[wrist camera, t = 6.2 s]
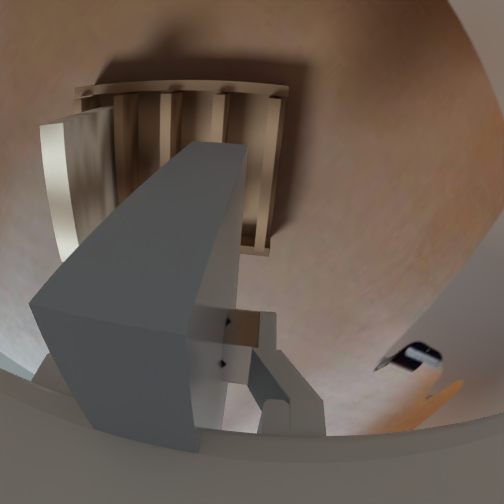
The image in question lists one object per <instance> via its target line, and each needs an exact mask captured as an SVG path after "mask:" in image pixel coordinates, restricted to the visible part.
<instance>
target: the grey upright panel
mask: <svg viewBox="0 0 504 504" xmlns="http://www.w3.org/2000/svg"><path fill="white" fill-rule="evenodd" d="M247 156H248V145H244V144H232V143H218V142H201V141H192V142H191V143H190V144H189V145H187V146H186V147H185V148H184V149H182V150H181V151H180V152H179V153H178V154H176V155H175V156H174V157H173V158H172V159H170V160H169V161H168V162H167V163H166V164H165V165H163V166H162V167H161V168H160V169H159V170H158V171H156V172H155V173H154V174H153V175H152V176H151V177H150V178H148V179H147V180H146V181H145V182H144V183H143V184H142V185H141V186H140V187H138V188H137V189H136V190H135V191H134V192H133V193H132V194H131V195H130V196H129V197H128V198H127V199H125V200H124V201H123V202H122V203H121V204H120V205H119V206H118V207H117V208H116V209H115V210H114V211H113V212H112V213H111V214H110V215H109V216H108V217H107V218H106V219H105V220H104V221H103V222H102V223H101V224H100V225H99V226H98V227H97V228H96V229H95V230H94V231H93V232H92V233H91V234H90V235H89V236H88V237H87V238H86V239H85V240H84V241H83V242H82V243H81V244H80V245H79V246H78V247H77V248H76V250H75V251H74V252H73V253H72V254H71V255H70V256H69V257H68V258H67V259H66V260H65V262H64V263H63V264H62V265H61V266H60V267H59V268H58V269H57V270H56V272H55V273H54V274H53V275H52V276H51V277H50V278H49V280H48V281H47V282H46V283H45V284H44V285H43V287H42V288H41V289H40V290H39V291H38V293H37V294H36V295H35V296H34V297H33V299H32V300H31V301H30V302H29V305H30V308H31V310H32V313H33V315H34V318H35V320H36V322H37V325H38V327H39V329H40V332H41V334H42V336H43V338H44V340H45V343H46V345H47V347H48V349H49V351H50V353H51V355H52V357H53V359H54V361H55V363H56V365H57V367H58V369H59V371H60V373H61V375H62V377H63V378H64V380H65V382H66V384H67V386H68V387H69V389H70V391H71V393H72V394H73V396H74V398H75V400H76V401H77V403H78V405H79V406H80V408H81V410H82V411H83V413H84V414H85V416H86V418H87V419H88V421H89V422H90V424H91V425H92V427H93V428H94V429H96V430H99V431H102V432H106V433H109V434H112V435H116V436H120V437H123V438H127V439H131V440H135V441H139V442H143V443H147V444H152V445H156V446H161V447H166V448H171V449H176V450H181V451H187V452H193V453H199V448H200V443H201V438H202V433H203V430H204V428H209V429H217V430H222V422H223V415H224V408H225V401H226V394H227V387H228V382H223V381H221V377H222V364H223V360H222V343H223V338H224V332H225V327H226V326H227V315H228V310H229V308H230V309H236V299H237V285H238V271H239V257H240V244H241V231H242V218H243V205H244V193H245V180H246V168H247Z"/></svg>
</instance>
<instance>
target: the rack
mask: <svg viewBox="0 0 504 504" xmlns="http://www.w3.org/2000/svg"><path fill="white" fill-rule="evenodd" d="M288 93H289V86H286V85H277V84H267V83H256V82H242V81H224V80H151V81H133V82H120V83H109V84H99V85H91V86H84V87H77V88H75V97H79V96H87V97H86V98H81V99H76V100H73V108H74V115H70V116H67V117H64V118H61V119H58V120H54V121H51V122H48V123H45V124H43V125H40V136H41V148H42V157H43V166H44V174H45V181H46V188H47V194H48V200H49V206H50V212H51V217H52V222H53V227H54V232H55V236H56V241H57V245H58V249H59V253H60V258H61V261H62V262H65V260H66V259H67V258H68V257H69V256H70V255H71V254H72V253H73V252H74V251H75V250H76V248H77V247H78V246H79V245H80V244H81V243H82V242H83V241H84V240H85V239H86V238H87V237H88V236H89V235H90V234H91V233H92V232H93V231H94V230H95V229H96V228H97V227H98V226H99V225H100V224H101V223H102V222H103V221H104V220H105V219H106V218H107V217H108V216H109V215H110V214H111V213H112V212H113V211H114V210H115V209H116V208H117V207H118V206H119V205H120V204H121V203H122V202H123V201H124V200H125V199H127V198H128V197H129V196H130V195H131V194H132V193H133V192H134V191H135V190H136V189H137V188H138V187H140V186H141V185H142V184H143V183H144V182H145V181H146V180H147V179H148V178H150V177H151V176H152V175H153V174H154V173H155V172H156V171H158V170H159V169H160V168H161V167H162V166H163V165H165V164H166V163H167V162H168V161H169V160H170V159H172V158H173V157H174V156H175V155H176V154H178V153H179V152H180V151H181V150H182V149H184V148H185V147H186V146H187V145H189V144H190V143H191V142H192V141H201V142H218V143H232V144H244V145H248V156H247V168H246V180H245V193H244V205H243V218H242V231H241V244H240V254H248V255H258V256H268V257H269V253H270V236H271V228H272V220H273V211H274V203H275V195H276V187H277V178H278V170H279V161H280V152H281V144H282V135H283V126H284V117H285V108H286V98H287V97H288Z"/></svg>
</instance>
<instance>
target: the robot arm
mask: <svg viewBox="0 0 504 504" xmlns="http://www.w3.org/2000/svg"><path fill="white" fill-rule="evenodd" d="M222 360H223V364H222V377H221V381H223V382H230V383H237V384H245V385H247V386H248V388H249V390H250V391H251V393H252V395H253V397H254V399H255V400H256V402H257V404H258V406H259V407H260V409H261V411H262V414H261V418H260V422H259V426H258V431H257V434H255V433H244V432H234V431H225V430H217V429H209V428H204V430H203V433H202V438H201V443H200V448H199V453H193V452H187V451H181V450H176V449H171V448H166V447H161V446H156V445H152V444H147V443H143V442H139V441H135V440H131V439H127V438H123V437H120V436H116V435H112V434H109V433H106V432H102V431H99V430H96V429H94V428H93V427H92V425H91V424H90V422H89V421H88V419H87V418H86V416H85V414H84V413H83V411H82V410H81V408H80V406H79V405H78V403H77V401H76V400H75V398H74V396H73V394H72V393H71V391H70V389H69V387H68V386H67V384H66V382H65V380H64V378H63V377H62V375H61V373H60V371H59V369H58V367H57V365H56V363H55V361H54V359H53V357H52V355H51V353H49V354H47V355H46V357H45V359H44V360H43V362H42V364H41V365H40V367H39V369H38V370H37V372H36V374H35V375H34V377H33V379H32V381H29V380H26V379H23V378H21V377H19V376H17V375H14V374H12V373H10V372H7V371H5V370H3V369H1V368H0V504H504V412H503V413H499V414H496V415H492V416H488V417H483V418H480V419H475V420H471V421H466V422H461V423H456V424H450V425H445V426H439V427H433V428H426V429H419V430H411V431H403V432H393V433H382V434H369V435H349V436H326V428H325V416H324V405H323V400H322V399H321V398H320V397H319V395H318V394H317V393H316V392H315V391H314V389H313V388H312V387H311V386H310V385H309V383H308V382H307V381H306V380H305V379H304V377H303V376H302V375H301V374H300V373H299V371H298V370H297V369H296V368H295V367H294V365H293V364H292V363H291V362H290V361H289V359H288V358H287V357H286V356H285V354H284V353H283V352H282V351H281V350H276V313H275V312H264V311H260V312H259V311H250V310H240V309H230V308H229V310H228V315H227V326H226V327H225V332H224V338H223V343H222Z"/></svg>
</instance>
